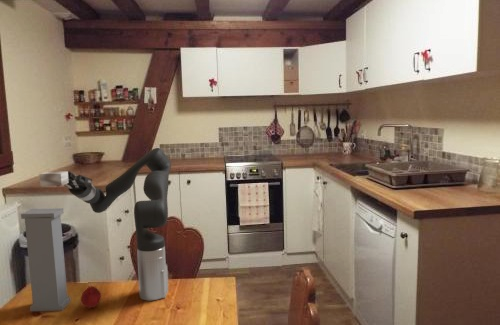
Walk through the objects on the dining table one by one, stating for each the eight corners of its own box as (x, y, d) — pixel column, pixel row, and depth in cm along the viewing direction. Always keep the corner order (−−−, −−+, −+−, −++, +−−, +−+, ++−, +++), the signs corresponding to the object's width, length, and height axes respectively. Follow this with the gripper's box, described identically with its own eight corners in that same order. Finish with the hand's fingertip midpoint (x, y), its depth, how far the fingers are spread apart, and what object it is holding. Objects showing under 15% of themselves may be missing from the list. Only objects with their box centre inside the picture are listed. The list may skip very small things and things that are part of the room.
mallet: (79, 178, 134) (78, 167, 134) (61, 185, 121) (60, 173, 120) (60, 178, 134) (59, 168, 134) (40, 186, 121) (39, 174, 120)
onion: (104, 303, 121) (103, 280, 120) (95, 313, 115) (94, 289, 114) (88, 303, 121) (86, 280, 120) (78, 312, 116) (76, 288, 114)
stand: (70, 300, 123) (63, 208, 118) (62, 310, 117) (53, 213, 113) (40, 301, 122) (31, 209, 118) (30, 311, 116) (20, 214, 112)
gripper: (66, 180, 147) (45, 164, 131) (101, 179, 147) (84, 163, 131) (63, 198, 144) (41, 184, 128) (99, 197, 144) (81, 183, 128)
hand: (63, 174), depth 129 cm, fingers closed on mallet, 2 cm apart
